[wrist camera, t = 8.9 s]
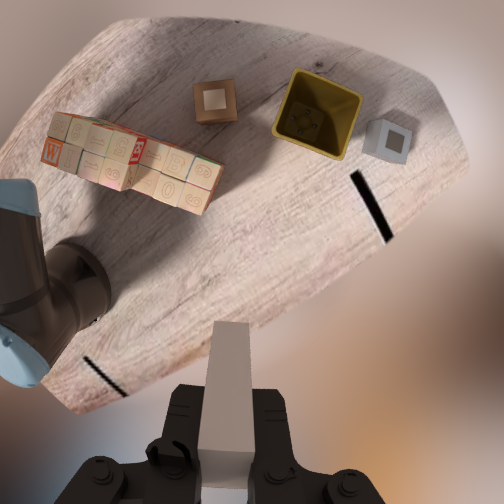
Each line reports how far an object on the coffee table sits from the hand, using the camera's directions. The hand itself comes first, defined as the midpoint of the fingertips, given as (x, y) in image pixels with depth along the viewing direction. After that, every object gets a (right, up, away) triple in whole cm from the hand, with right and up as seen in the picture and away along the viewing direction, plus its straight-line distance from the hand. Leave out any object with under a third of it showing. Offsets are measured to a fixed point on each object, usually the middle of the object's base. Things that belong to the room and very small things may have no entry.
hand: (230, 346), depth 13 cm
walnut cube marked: (-4, +24, +24) cm, 34 cm away
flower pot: (+8, +23, +25) cm, 35 cm away
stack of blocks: (-14, +18, +26) cm, 34 cm away
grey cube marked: (+20, +21, +26) cm, 39 cm away
